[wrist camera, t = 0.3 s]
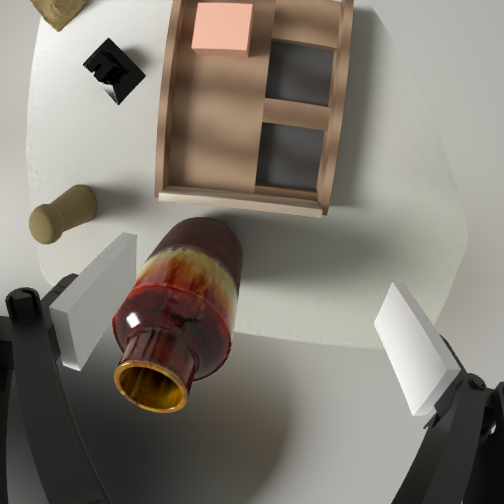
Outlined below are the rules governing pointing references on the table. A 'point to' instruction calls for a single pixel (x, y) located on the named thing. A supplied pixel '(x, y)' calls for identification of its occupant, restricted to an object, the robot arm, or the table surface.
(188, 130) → the box
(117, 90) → the black piece
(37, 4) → the rock
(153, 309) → the vase
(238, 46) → the block
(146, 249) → the table surface
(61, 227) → the cork
